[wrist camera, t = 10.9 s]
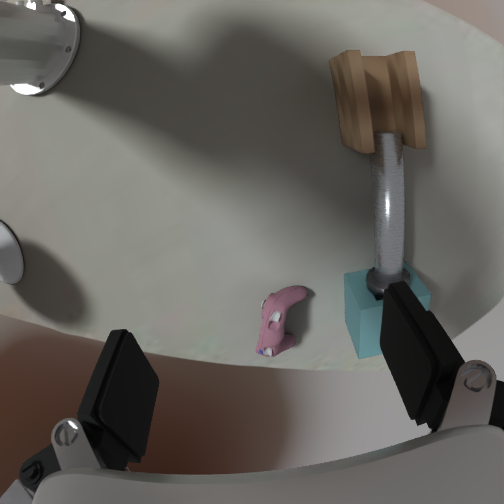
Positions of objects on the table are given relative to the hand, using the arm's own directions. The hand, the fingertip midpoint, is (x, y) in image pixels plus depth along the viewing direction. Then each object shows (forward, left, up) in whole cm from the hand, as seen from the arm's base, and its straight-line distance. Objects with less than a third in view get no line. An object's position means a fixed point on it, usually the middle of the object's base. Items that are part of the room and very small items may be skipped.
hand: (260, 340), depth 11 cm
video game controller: (+19, 0, -26) cm, 32 cm away
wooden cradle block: (-7, +13, -25) cm, 29 cm away
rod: (+9, +13, -24) cm, 28 cm away
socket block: (+18, +13, -25) cm, 34 cm away
